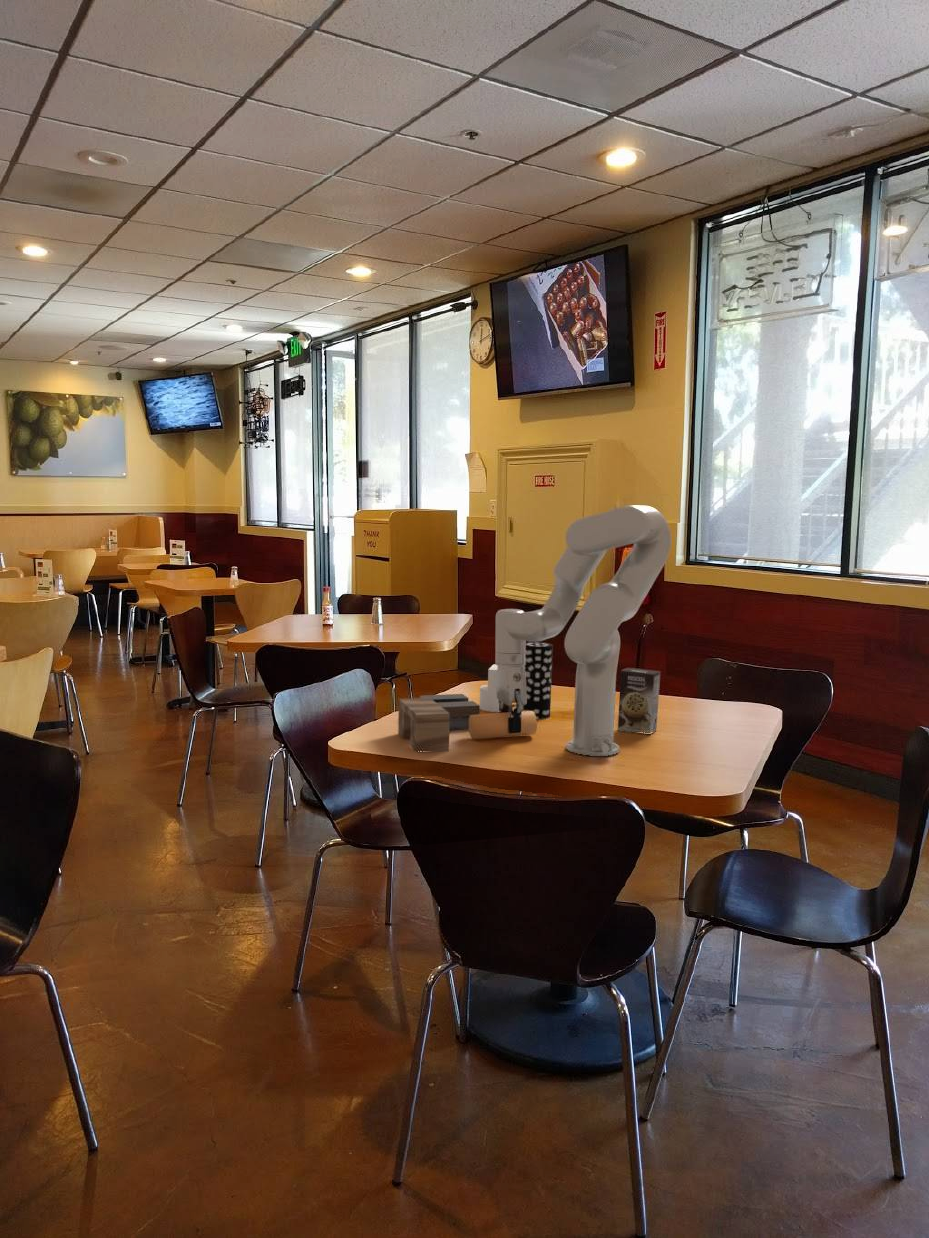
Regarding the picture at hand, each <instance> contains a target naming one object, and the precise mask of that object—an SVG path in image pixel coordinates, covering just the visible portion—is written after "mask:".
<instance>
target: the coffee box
mask: <svg viewBox="0 0 929 1238" xmlns="http://www.w3.org/2000/svg"><path fill="white" fill-rule="evenodd" d="M660 682H661V671H659V670H651V669H643V668H635V667H627V668H623V669H621V670H620V683H619V697H618V698H619V702H618V715H617V716H618V717H617V718H618V720H617V731H618V730H619V731H620V732H624V731H625V732H626V733H631V732H643V733H644V732H645V733H651V732H654V731H655V730H656V729H657V730H658V713H659V711H658V710H659V696H660V695H659V694H660ZM619 731H618V732H619ZM654 733H655V732H654Z"/></svg>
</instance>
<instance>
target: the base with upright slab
mask: <svg viewBox="0 0 929 1238" xmlns="http://www.w3.org/2000/svg"><path fill="white" fill-rule="evenodd" d="M497 667H498V666H497V665H495V663H494V664H492V665H491V666H490V667H489V668H488V670H487V672H488V673H487V675H488V676H487V684H483V685H481V686H480V687H479V704H478V705H480V710H481V711H484V712H485V711H486V712H492V713H499V712H501V711H499V700H498V699H497V693H496V683H497Z"/></svg>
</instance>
